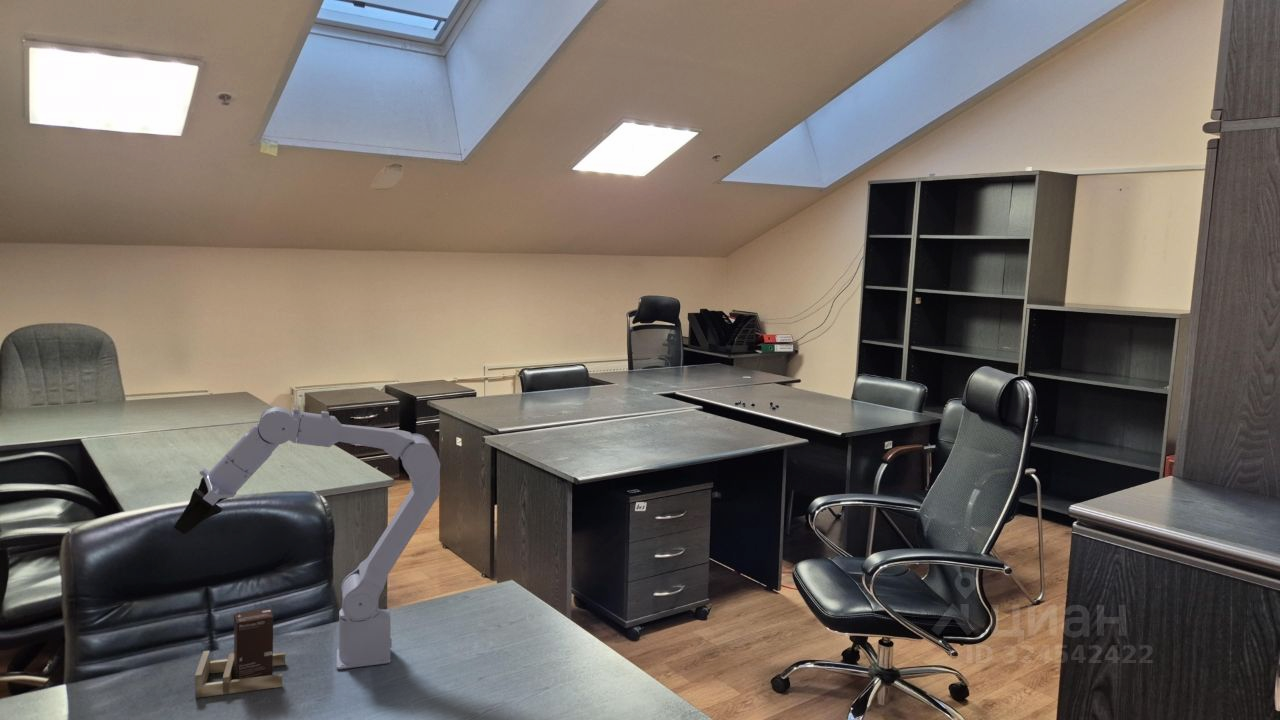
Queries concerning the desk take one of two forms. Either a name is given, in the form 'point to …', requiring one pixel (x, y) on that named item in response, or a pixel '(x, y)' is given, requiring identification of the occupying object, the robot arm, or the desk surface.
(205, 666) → the wooden slat rack
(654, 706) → the desk surface
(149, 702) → the desk surface
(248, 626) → the box
